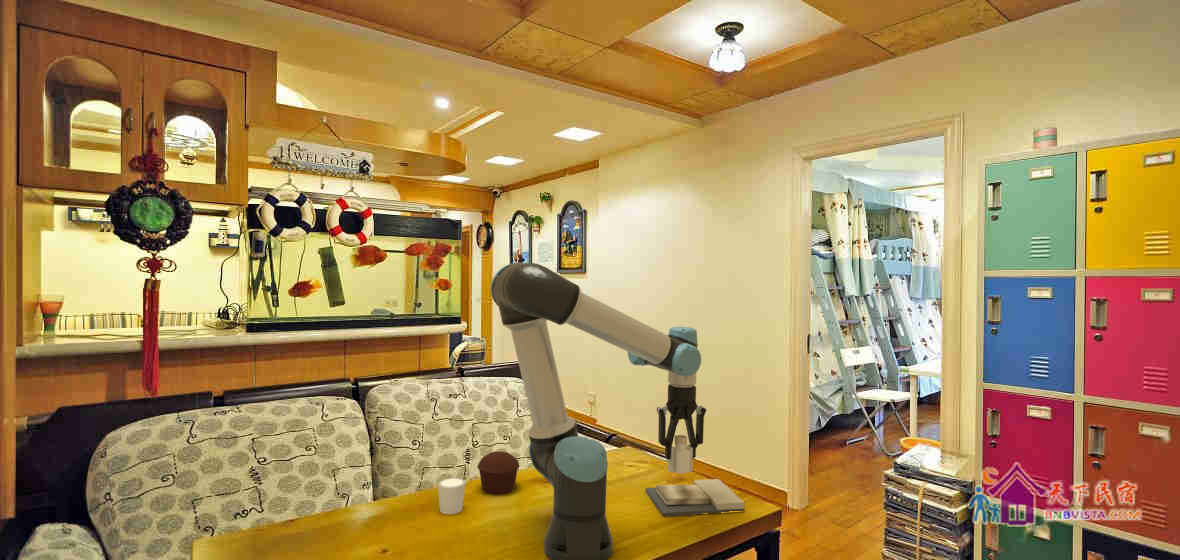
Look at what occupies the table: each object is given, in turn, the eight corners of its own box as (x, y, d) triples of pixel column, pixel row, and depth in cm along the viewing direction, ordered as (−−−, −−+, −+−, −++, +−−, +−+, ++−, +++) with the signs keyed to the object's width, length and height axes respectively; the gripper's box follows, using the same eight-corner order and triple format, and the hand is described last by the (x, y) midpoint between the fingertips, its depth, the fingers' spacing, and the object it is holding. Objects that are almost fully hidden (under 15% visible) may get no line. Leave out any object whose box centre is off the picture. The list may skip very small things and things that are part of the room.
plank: (666, 504, 141) (666, 498, 141) (655, 490, 150) (656, 485, 150) (709, 504, 143) (709, 498, 143) (696, 490, 152) (697, 484, 152)
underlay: (663, 517, 137) (663, 506, 137) (645, 491, 153) (645, 482, 153) (743, 512, 141) (744, 502, 141) (718, 487, 157) (718, 479, 157)
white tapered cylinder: (431, 511, 137) (432, 484, 136) (450, 501, 143) (450, 475, 143) (452, 517, 133) (453, 489, 133) (470, 507, 139) (471, 480, 139)
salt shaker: (682, 467, 149) (683, 433, 149) (690, 473, 145) (691, 437, 145) (669, 469, 147) (670, 435, 147) (677, 474, 143) (678, 439, 143)
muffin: (523, 482, 157) (524, 448, 157) (513, 498, 146) (514, 461, 146) (483, 479, 158) (484, 445, 158) (471, 495, 147) (472, 458, 147)
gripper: (655, 388, 140) (653, 477, 141) (718, 386, 144) (716, 473, 144) (646, 382, 148) (644, 466, 148) (707, 381, 151) (705, 463, 151)
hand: (680, 470), depth 146 cm, fingers closed on salt shaker, 4 cm apart
